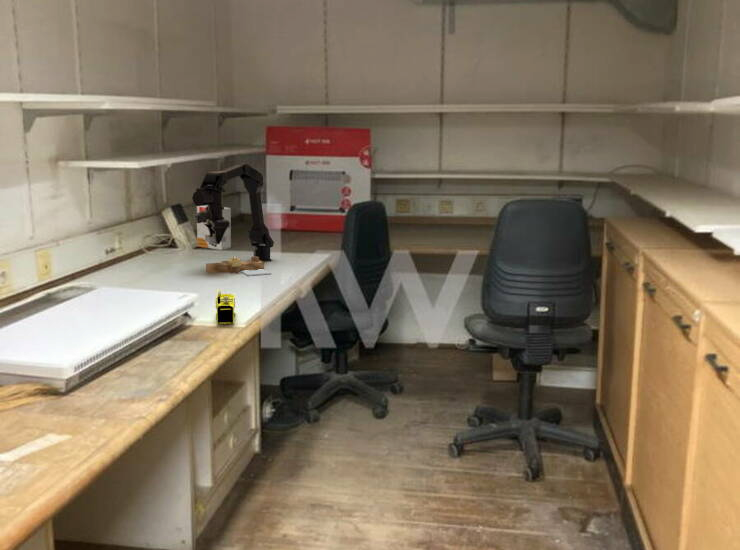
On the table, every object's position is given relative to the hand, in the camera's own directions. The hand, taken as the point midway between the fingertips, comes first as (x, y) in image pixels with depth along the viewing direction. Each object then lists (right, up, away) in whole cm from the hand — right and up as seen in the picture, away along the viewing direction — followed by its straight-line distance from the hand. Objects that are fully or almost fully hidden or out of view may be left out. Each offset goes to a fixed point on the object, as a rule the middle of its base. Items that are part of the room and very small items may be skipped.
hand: (215, 242), depth 282 cm
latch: (+8, -9, 0) cm, 12 cm away
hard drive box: (-14, 0, +60) cm, 62 cm away
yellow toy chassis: (+18, -27, -68) cm, 75 cm away
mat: (+16, -12, +1) cm, 20 cm away
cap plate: (0, +1, 0) cm, 1 cm away
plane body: (+7, -11, +6) cm, 14 cm away
